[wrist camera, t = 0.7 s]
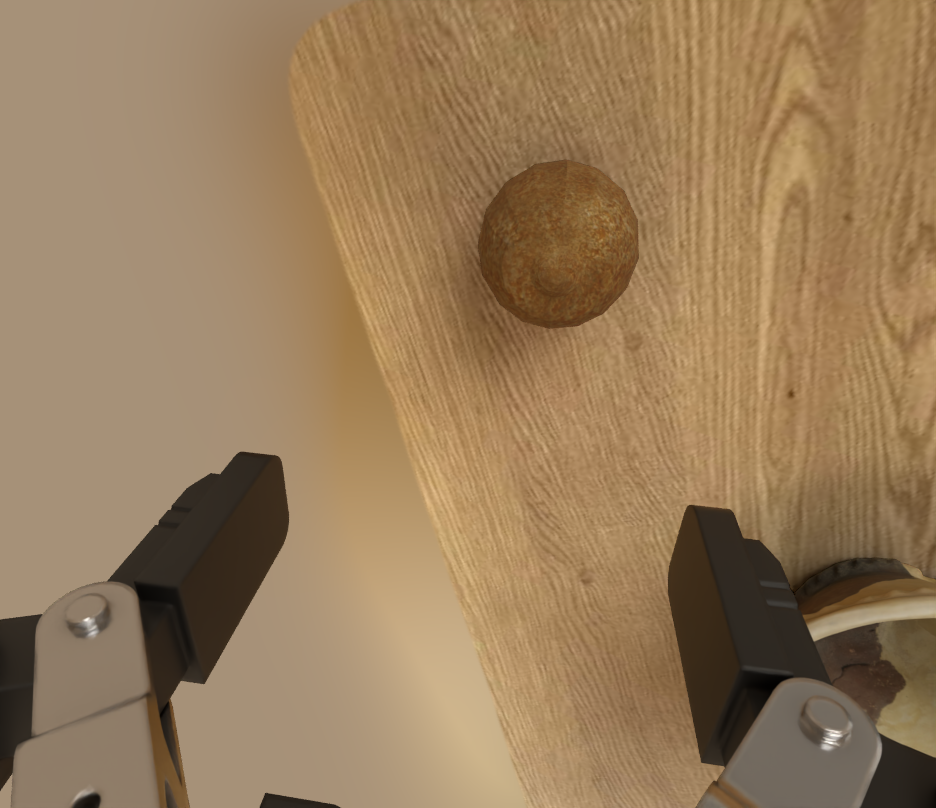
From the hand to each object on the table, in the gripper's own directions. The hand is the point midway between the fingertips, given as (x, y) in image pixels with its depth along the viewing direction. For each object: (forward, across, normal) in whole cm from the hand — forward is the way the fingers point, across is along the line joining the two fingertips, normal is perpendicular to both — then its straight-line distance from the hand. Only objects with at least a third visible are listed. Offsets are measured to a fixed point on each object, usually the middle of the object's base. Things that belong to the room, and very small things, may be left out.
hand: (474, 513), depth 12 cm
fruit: (+19, -1, -1) cm, 19 cm away
